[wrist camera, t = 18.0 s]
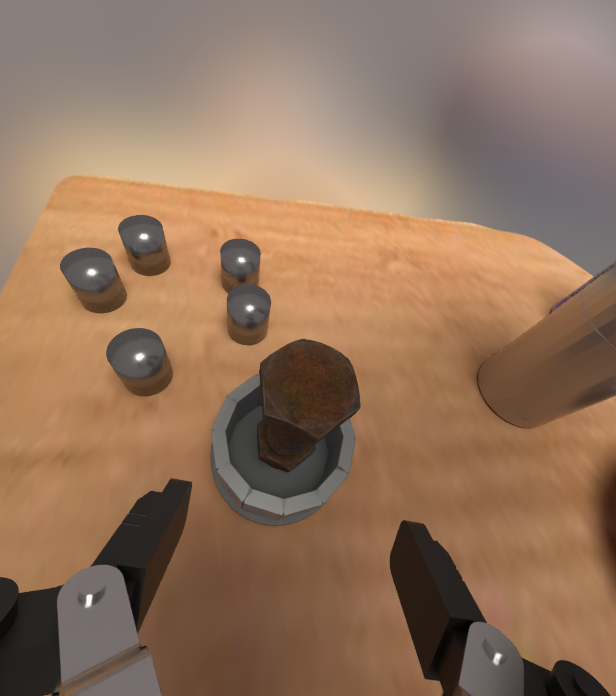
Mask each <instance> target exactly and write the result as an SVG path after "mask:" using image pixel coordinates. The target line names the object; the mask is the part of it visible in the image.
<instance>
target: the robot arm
mask: <svg viewBox="0 0 616 696" xmlns="http://www.w3.org/2000/svg"><path fill="white" fill-rule="evenodd" d="M478 383H479V388H480V390H481V393H482V395H483V397H484V399H485V400H486V402H487V403H488V405H489V406H490V407H491V408H492V409H493V410H494V411H495V412H496V413H497V414H498V415H499V416H500V417H502V418H503V419H504V420H506V421H508V422H509V423H511V424H513V425H516V426H519V427H523V428H535V427H538V426H541V425H543V424H546V423H548V422H551V421H553V420H556V419H558V418H561V417H563V416H566V415H569V414H572V413H574V412H577V411H579V410H582V409H584V408H587V407H589V406H592V405H594V404H597V403H599V402H602V401H604V400H607V399H609V398H612V397H614V396H616V265H615V266H613V267H612V268H611V269H609V270H608V271H607V272H605V273H604V274H603V275H601V276H600V277H599V278H597V279H596V280H594V281H593V282H592V283H590V284H589V285H588V286H587V287H585V288H584V289H583V290H581V291H580V292H579V293H577V294H576V295H575V296H573V297H572V298H571V299H569V300H568V301H567V302H565V303H564V304H563V305H561V306H560V307H559V308H557V309H556V310H554V311H553V312H552V313H550V314H549V315H548V316H546V317H545V318H544V319H542V320H541V321H540V322H538V323H537V324H536V325H534V326H533V327H532V328H530V329H529V330H528V331H526V332H525V333H524V334H522V335H521V336H520V337H518V338H517V339H516V340H514V341H513V342H512V343H510V344H509V345H507V346H506V347H505V348H503V349H502V350H501V351H499V352H498V353H497V354H495V355H494V356H493V357H491V358H490V359H489V360H487V361H486V362H485V363H483V365H482V366H481V367H480V370H479V373H478ZM191 488H192V482H189V481H184V480H178V479H172V478H171V479H170V480H169V482H168V484H167V485H166V487H165V488H164V490H163V492H162V493H161V492H155V491H150V492H149V493H147V494H146V495H144V496H143V497H141V498H140V499H138V500H137V502H136V503H135V505H134V506H133V507H132V509H131V510H130V512H129V514H128V515H127V516H126V517H125V519H124V520H123V522H122V524H120V526H119V527H118V529H117V530H116V531H115V533H114V534H113V536H112V537H111V539H110V540H109V541H108V543H107V544H106V546H105V547H104V548H103V550H102V551H101V553H100V554H99V555H98V557H97V558H96V560H95V561H94V563H93V564H92V565H91V566H90V567H88V568H86V569H84V570H82V571H80V572H78V573H76V574H75V575H74V576H72V577H71V578H70V579H69V580H68V581H67V582H66V583H65V584H64V585H61V586H58V587H55V588H50V589H44V590H37V591H30V592H23V593H19V589H18V586H17V584H16V583H15V582H14V581H13V580H11V579H8V578H3V577H0V696H44V695H48V694H50V696H161V692H160V688H159V684H158V680H157V676H156V673H155V669H154V665H153V661H152V658H151V654H150V652H149V649H148V648H147V647H146V646H144V647H141V645H140V643H139V639H138V635H137V634H138V632H139V629H140V627H141V625H142V623H143V620H144V618H145V616H146V614H147V611H148V609H149V607H150V605H151V602H152V600H153V598H154V596H155V593H156V591H157V589H158V587H159V584H160V582H161V580H162V578H163V575H164V573H165V571H166V569H167V566H168V564H169V562H170V560H171V557H172V555H173V553H174V551H175V548H176V546H177V544H178V542H179V539H180V537H181V534H182V532H183V529H184V525H185V521H186V517H187V511H188V506H189V500H190V494H191ZM390 570H391V574H392V577H393V581H394V584H395V587H396V590H397V593H398V596H399V599H400V602H401V606H402V609H403V612H404V615H405V618H406V621H407V624H408V627H409V631H410V634H411V637H412V640H413V643H414V646H415V649H416V653H417V656H418V659H419V662H420V665H421V668H422V671H423V674H424V678H425V679H429V680H437V681H440V683H441V686H442V689H443V691H442V693H441V696H610V694H609V693H608V692H607V691H606V689H605V688H604V687H603V686H602V685H601V684H600V683H599V682H598V681H597V680H596V679H595V678H594V677H593V676H592V675H590V674H589V673H588V672H587V671H585V670H584V669H582V668H581V667H579V666H577V665H576V664H574V663H571V662H569V661H565V660H560V661H557V662H556V663H555V665H554V667H553V669H552V671H549V670H547V669H544V668H542V667H540V666H538V665H536V664H534V663H532V662H530V661H528V660H525V659H523V658H522V657H521V656H520V654H519V652H518V650H517V649H516V647H515V646H514V645H513V643H512V642H511V641H510V640H509V639H508V638H507V637H506V636H505V635H504V634H503V633H502V632H501V631H499V630H498V629H496V628H495V627H493V626H491V625H489V624H487V622H486V621H485V619H484V617H483V615H482V613H481V611H480V610H479V608H478V606H477V604H476V602H475V601H474V599H473V597H472V595H471V593H470V591H469V590H468V588H467V586H466V584H465V582H464V581H462V577H461V575H460V573H459V571H458V570H456V566H455V564H454V562H453V561H452V559H451V557H450V555H449V553H448V552H447V551H446V550H445V549H444V548H443V547H442V546H441V545H440V544H439V543H438V541H434V540H433V539H432V537H431V535H430V534H429V532H428V530H427V528H426V526H425V525H424V524H422V523H417V522H411V521H406V520H403V521H402V522H401V524H400V527H399V530H398V533H397V536H396V539H395V542H394V545H393V548H392V551H391V554H390Z"/></svg>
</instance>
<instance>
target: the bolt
mask: <svg viewBox="0 0 616 696" xmlns="http://www.w3.org/2000/svg"><path fill="white" fill-rule="evenodd" d="M259 375H260V388H261V402H262V415H263V420H261V421H260V422H259V423H258V424H257V441H258V455H259V459H260V460H261V461H263V462H265V463H266V464H268V465H269V466H270V467H272V468H275V469H279V470H282V471H285V472H287V473H289V472H290V471H291V470H293V469H294V468H296V467H297V466H298V465H299V464H301V463H302V462H303V461H304V460H306V459H307V458H308V457H309V456H310V455H312V454H313V453H314V452H315V450H316V446H315V445H316V444H317V443H318V442H319V441H321V440H322V439H323V438H325V437H326V436H327V435H329V434H330V433H331V432H332V431H334V430H335V429H336V428H338V427H339V426H340V425H341V424H343V423H344V422H345V421H347V420H348V419H349V418H351V417H352V416H353V415H354V414H355V413H356V412H357V411H358V410H359V409H360V394H359V387H358V382H357V379H356V375H355V372H354V369H353V366H352V364H351V362H350V360H349V359H348V358H347V357H345V356H344V355H343V354H342V353H340V352H339V351H337V350H335V349H334V348H332V347H330V346H327V345H325V344H322V343H319V342H316V341H312V340H306V339H301V340H297V341H294V342H292V343H289V344H287V345H286V346H284V347H282V348H280V349H279V350H277V351H276V352H274V353H272V354H271V355H270V356H268V357H267V358H266V359H264V360H263V361H262V362H261V363H260V370H259Z"/></svg>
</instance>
